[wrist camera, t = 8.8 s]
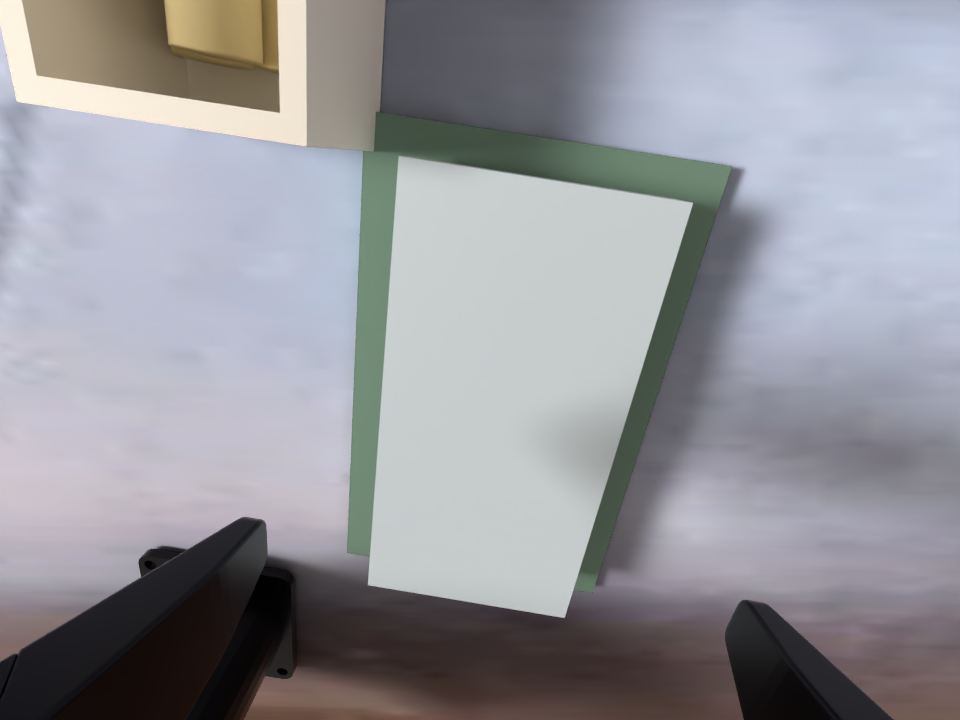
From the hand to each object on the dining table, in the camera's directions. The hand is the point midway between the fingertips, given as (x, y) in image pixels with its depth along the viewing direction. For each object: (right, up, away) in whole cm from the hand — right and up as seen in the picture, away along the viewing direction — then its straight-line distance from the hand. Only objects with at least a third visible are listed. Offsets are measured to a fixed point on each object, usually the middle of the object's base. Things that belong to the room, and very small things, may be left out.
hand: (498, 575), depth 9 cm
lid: (0, +2, +6) cm, 7 cm away
